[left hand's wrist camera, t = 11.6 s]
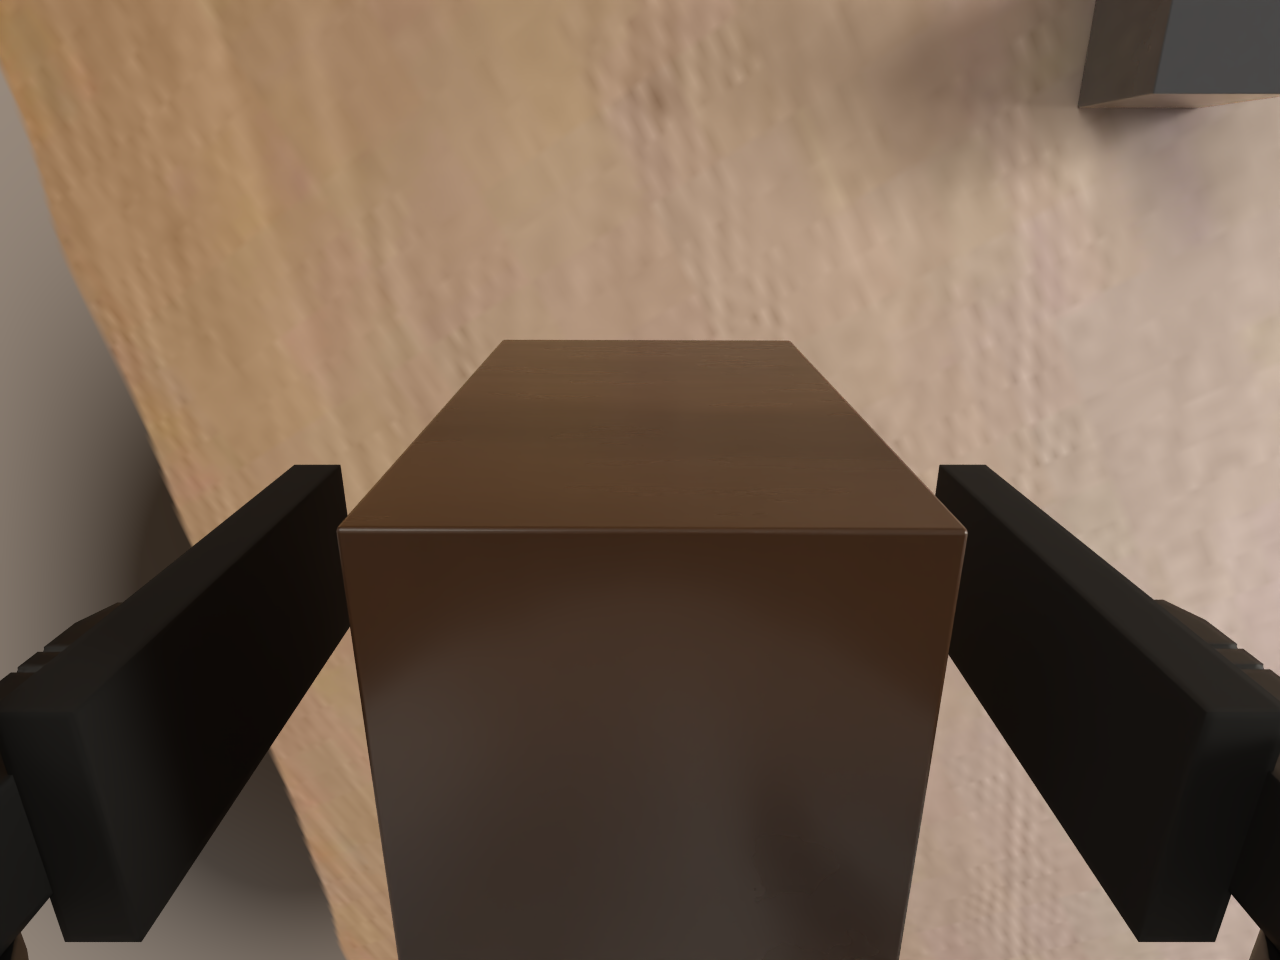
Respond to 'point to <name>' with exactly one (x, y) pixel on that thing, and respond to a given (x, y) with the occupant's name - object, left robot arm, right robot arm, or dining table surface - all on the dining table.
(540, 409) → the bar
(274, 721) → the left robot arm
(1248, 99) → the slate block
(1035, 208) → the dining table surface
